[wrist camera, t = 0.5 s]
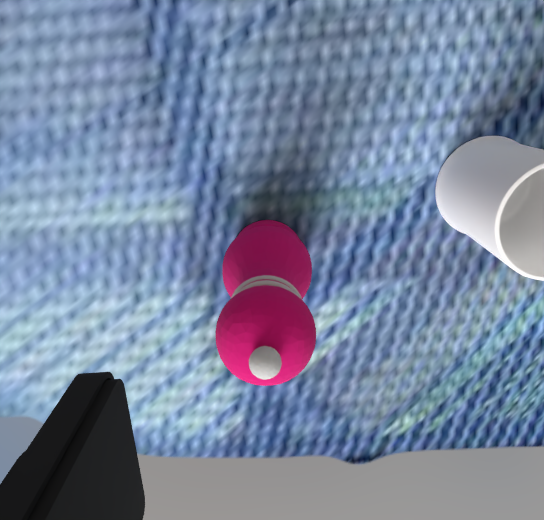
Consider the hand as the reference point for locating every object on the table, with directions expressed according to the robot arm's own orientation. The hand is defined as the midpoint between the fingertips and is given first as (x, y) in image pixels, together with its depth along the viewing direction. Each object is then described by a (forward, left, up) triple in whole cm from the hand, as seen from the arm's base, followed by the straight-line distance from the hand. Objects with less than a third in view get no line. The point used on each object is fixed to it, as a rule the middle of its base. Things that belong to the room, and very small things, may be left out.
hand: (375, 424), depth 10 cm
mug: (+13, +12, -36) cm, 40 cm away
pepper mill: (+4, -7, -36) cm, 37 cm away
